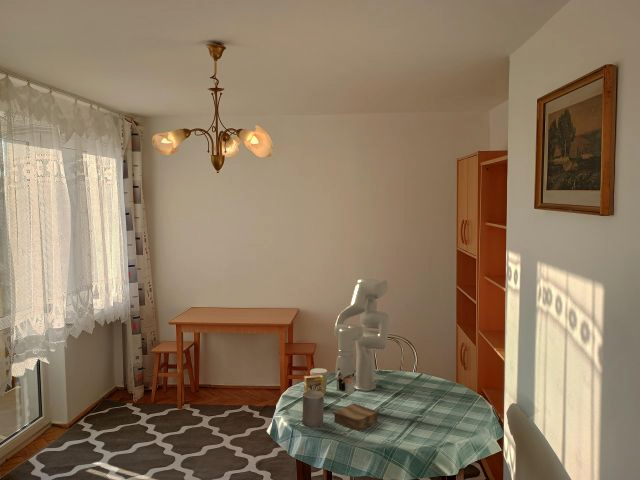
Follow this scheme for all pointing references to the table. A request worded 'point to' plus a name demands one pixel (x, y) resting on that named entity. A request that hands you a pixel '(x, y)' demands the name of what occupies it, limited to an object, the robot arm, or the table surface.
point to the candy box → (313, 383)
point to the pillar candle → (313, 409)
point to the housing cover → (348, 379)
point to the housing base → (346, 387)
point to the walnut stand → (355, 416)
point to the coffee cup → (324, 373)
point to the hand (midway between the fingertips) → (345, 388)
